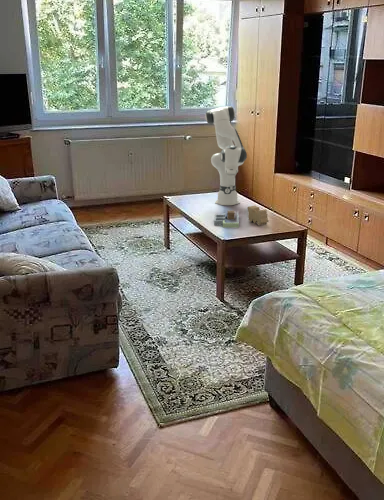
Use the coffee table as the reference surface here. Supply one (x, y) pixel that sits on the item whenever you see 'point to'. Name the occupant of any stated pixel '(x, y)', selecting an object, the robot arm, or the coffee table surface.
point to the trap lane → (220, 220)
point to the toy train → (257, 215)
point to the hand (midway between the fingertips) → (231, 189)
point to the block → (230, 214)
